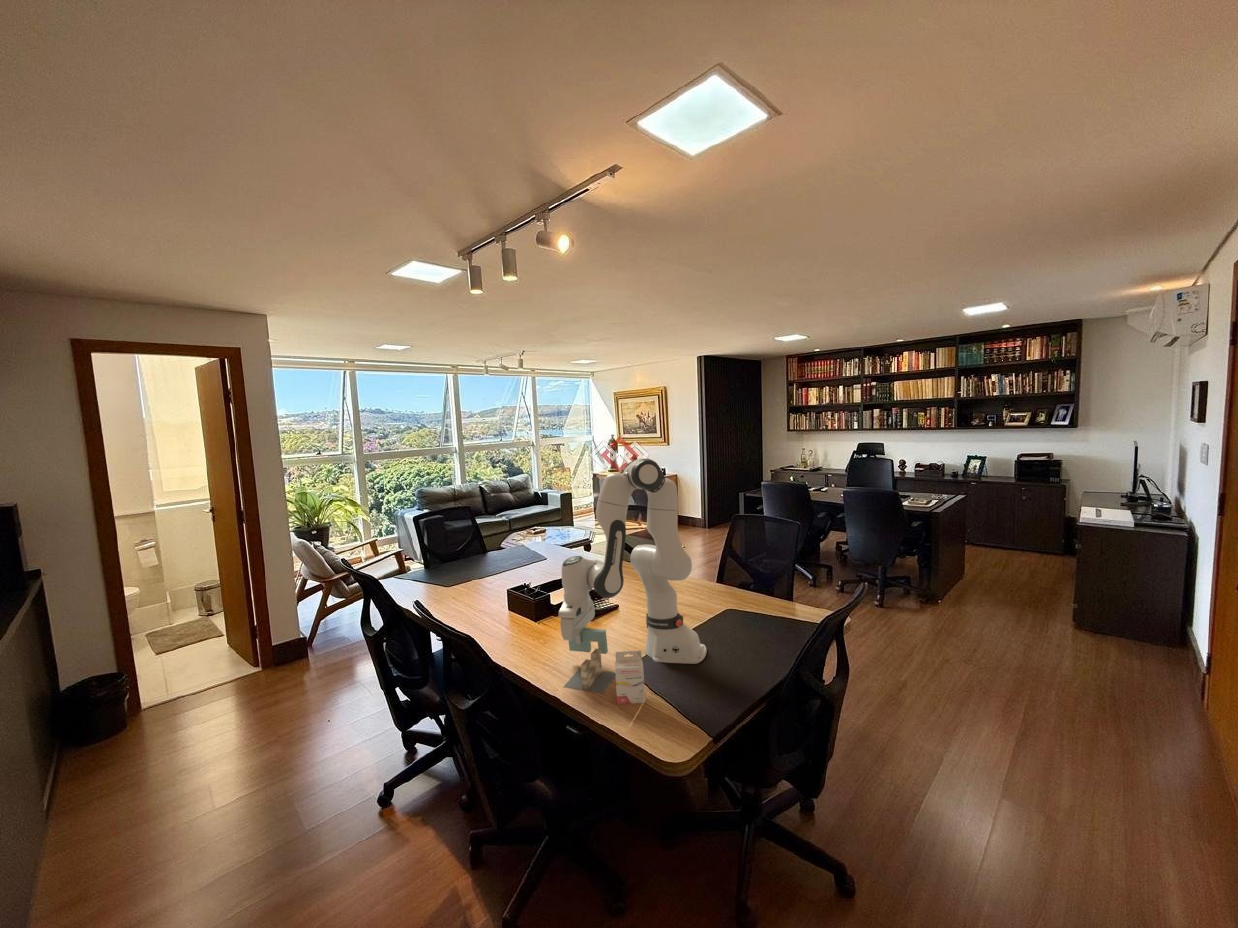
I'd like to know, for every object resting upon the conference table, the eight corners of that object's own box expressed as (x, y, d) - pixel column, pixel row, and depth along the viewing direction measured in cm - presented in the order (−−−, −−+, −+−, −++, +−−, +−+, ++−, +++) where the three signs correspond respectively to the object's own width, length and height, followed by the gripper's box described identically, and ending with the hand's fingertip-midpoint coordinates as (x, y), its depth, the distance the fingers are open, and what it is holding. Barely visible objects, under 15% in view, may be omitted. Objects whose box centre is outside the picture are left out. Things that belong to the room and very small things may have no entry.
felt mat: (617, 674, 167) (617, 673, 167) (602, 694, 155) (602, 693, 155) (580, 668, 172) (580, 667, 172) (563, 688, 160) (562, 686, 160)
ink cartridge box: (617, 705, 149) (614, 658, 147) (616, 696, 154) (614, 651, 152) (645, 704, 149) (643, 657, 148) (644, 694, 154) (641, 649, 153)
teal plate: (607, 651, 172) (605, 629, 171) (606, 653, 171) (603, 631, 170) (571, 647, 177) (569, 626, 176) (569, 650, 176) (567, 629, 175)
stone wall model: (596, 670, 169) (595, 648, 169) (601, 671, 169) (600, 649, 168) (582, 689, 158) (580, 665, 157) (587, 689, 158) (585, 665, 157)
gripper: (581, 591, 184) (585, 626, 185) (555, 614, 165) (560, 653, 166) (596, 592, 181) (600, 627, 183) (572, 615, 162) (577, 655, 164)
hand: (581, 640), depth 174 cm, fingers closed on teal plate, 2 cm apart
